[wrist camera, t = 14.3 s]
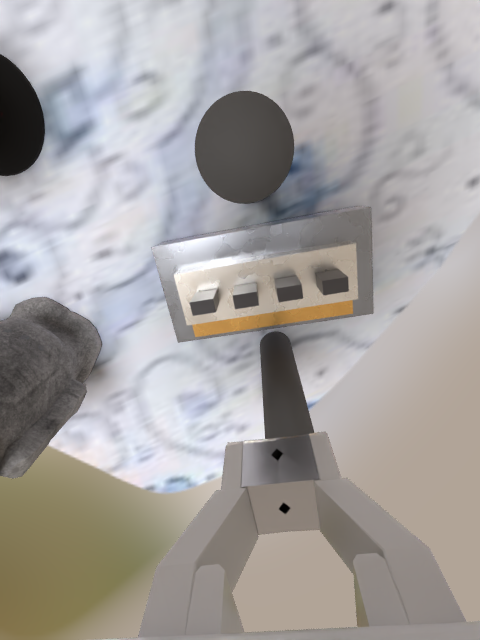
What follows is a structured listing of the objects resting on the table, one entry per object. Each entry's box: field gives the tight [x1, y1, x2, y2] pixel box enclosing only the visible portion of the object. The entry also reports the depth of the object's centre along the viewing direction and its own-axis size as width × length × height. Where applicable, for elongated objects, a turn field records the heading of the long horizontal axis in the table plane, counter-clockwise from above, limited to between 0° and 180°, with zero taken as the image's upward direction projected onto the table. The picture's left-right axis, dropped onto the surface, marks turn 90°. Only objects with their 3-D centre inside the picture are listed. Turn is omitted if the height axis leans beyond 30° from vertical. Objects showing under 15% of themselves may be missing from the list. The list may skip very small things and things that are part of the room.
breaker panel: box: [151, 206, 373, 343], centre depth 30 cm, size 10×20×6 cm, turn 100°
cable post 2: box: [260, 332, 314, 439], centre depth 27 cm, size 4×4×20 cm
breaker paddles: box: [189, 269, 349, 316], centre depth 26 cm, size 1×13×3 cm, turn 101°
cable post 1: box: [195, 91, 294, 204], centre depth 20 cm, size 4×4×20 cm
